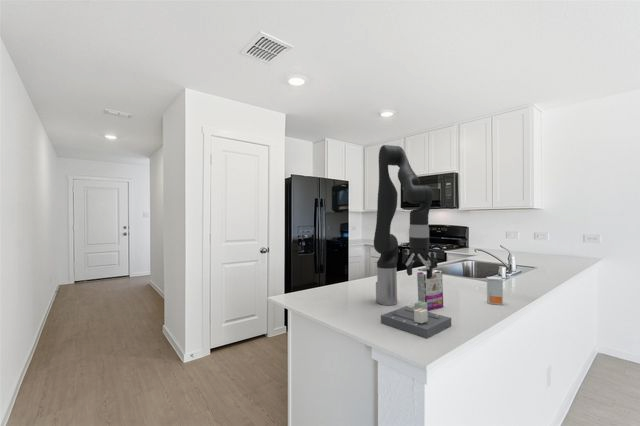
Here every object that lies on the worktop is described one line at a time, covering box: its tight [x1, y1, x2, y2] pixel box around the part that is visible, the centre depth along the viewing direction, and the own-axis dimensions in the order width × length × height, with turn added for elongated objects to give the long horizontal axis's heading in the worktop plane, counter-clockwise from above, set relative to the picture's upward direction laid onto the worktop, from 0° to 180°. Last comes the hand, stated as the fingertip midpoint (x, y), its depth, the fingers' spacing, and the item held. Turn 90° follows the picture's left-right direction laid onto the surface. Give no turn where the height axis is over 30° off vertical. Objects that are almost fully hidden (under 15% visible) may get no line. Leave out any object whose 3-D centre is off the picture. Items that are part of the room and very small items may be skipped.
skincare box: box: [486, 276, 504, 306], centre depth 141 cm, size 6×4×12 cm
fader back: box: [414, 301, 427, 310], centre depth 119 cm, size 3×4×4 cm
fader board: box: [380, 306, 452, 339], centre depth 116 cm, size 20×17×3 cm
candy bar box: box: [416, 269, 444, 311], centre depth 137 cm, size 11×5×16 cm, turn 118°
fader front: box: [414, 308, 429, 324], centre depth 110 cm, size 3×4×4 cm
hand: (419, 276), depth 119 cm, fingers open, 8 cm apart
